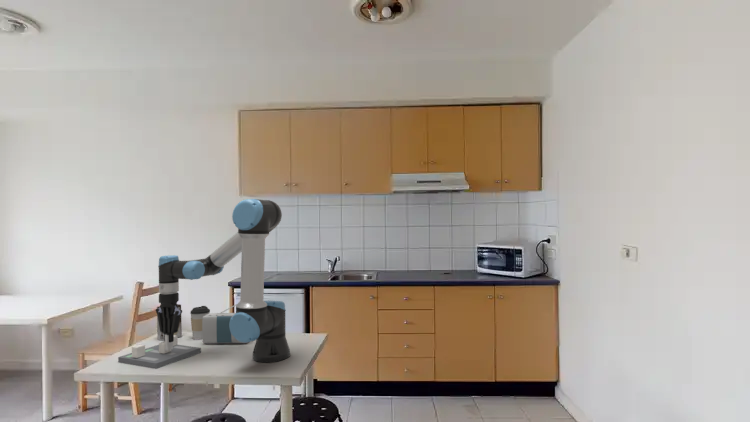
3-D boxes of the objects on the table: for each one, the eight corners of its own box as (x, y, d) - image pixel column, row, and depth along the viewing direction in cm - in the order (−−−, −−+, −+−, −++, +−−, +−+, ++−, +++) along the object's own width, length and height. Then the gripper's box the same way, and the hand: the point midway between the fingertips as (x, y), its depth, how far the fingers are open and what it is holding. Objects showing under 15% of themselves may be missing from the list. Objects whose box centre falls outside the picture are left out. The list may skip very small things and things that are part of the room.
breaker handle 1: (145, 355, 175) (145, 345, 175) (137, 357, 172) (136, 347, 172) (140, 354, 176) (140, 344, 176) (131, 357, 173) (131, 347, 173)
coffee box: (174, 335, 216) (174, 303, 216) (182, 336, 212) (181, 304, 213) (156, 339, 208) (156, 306, 208) (164, 341, 204) (164, 307, 205)
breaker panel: (200, 352, 186) (200, 347, 186) (156, 368, 165) (156, 363, 166) (164, 347, 195) (164, 342, 195) (118, 362, 174) (118, 356, 174)
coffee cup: (203, 340, 204) (203, 309, 205) (186, 340, 206) (186, 308, 207) (214, 335, 213) (213, 305, 214) (197, 335, 215) (197, 305, 215)
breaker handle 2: (177, 344, 190) (177, 335, 190) (170, 346, 186) (170, 337, 186) (172, 344, 191) (172, 335, 191) (165, 346, 188) (165, 337, 188)
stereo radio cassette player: (201, 345, 197) (201, 301, 198) (209, 340, 205) (208, 298, 206) (246, 344, 196) (246, 301, 197) (252, 340, 204) (251, 297, 205)
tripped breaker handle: (171, 351, 180) (171, 341, 180) (164, 353, 177) (163, 343, 177) (166, 350, 181) (166, 340, 181) (158, 352, 178) (158, 343, 178)
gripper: (149, 293, 178) (149, 350, 177) (172, 295, 173) (172, 354, 172) (165, 290, 185) (165, 345, 184) (187, 292, 179) (187, 348, 179)
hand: (168, 349), depth 178 cm, fingers closed
